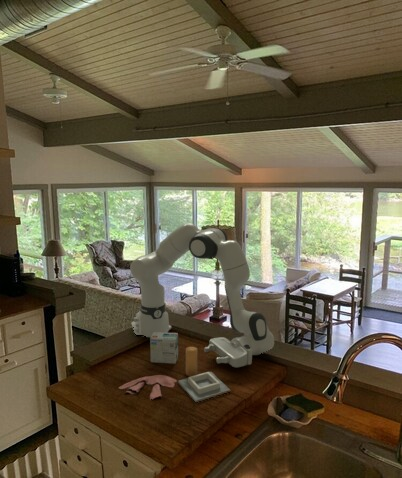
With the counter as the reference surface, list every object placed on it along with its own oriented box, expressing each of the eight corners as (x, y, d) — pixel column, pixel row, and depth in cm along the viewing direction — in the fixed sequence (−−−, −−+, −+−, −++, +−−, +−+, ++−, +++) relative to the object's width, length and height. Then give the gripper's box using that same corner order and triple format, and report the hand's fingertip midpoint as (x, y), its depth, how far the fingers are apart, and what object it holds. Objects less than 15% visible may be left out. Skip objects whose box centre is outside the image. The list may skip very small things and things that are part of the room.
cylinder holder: (178, 383, 142) (178, 375, 141) (211, 374, 148) (211, 366, 148) (195, 403, 130) (195, 395, 129) (230, 392, 136) (230, 384, 136)
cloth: (183, 379, 146) (183, 373, 145) (161, 414, 125) (161, 407, 124) (134, 371, 151) (134, 365, 151) (105, 402, 131) (105, 396, 130)
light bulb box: (178, 356, 162) (178, 332, 160) (175, 364, 156) (175, 339, 154) (153, 354, 163) (153, 331, 161) (150, 362, 157) (149, 338, 155)
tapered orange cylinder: (183, 371, 150) (183, 348, 148) (193, 369, 152) (194, 345, 150) (188, 377, 146) (188, 353, 144) (199, 374, 148) (199, 350, 146)
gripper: (226, 331, 167) (198, 337, 160) (254, 351, 149) (224, 359, 143) (226, 345, 168) (198, 351, 162) (253, 366, 150) (223, 374, 144)
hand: (210, 355), depth 152 cm, fingers open, 8 cm apart
